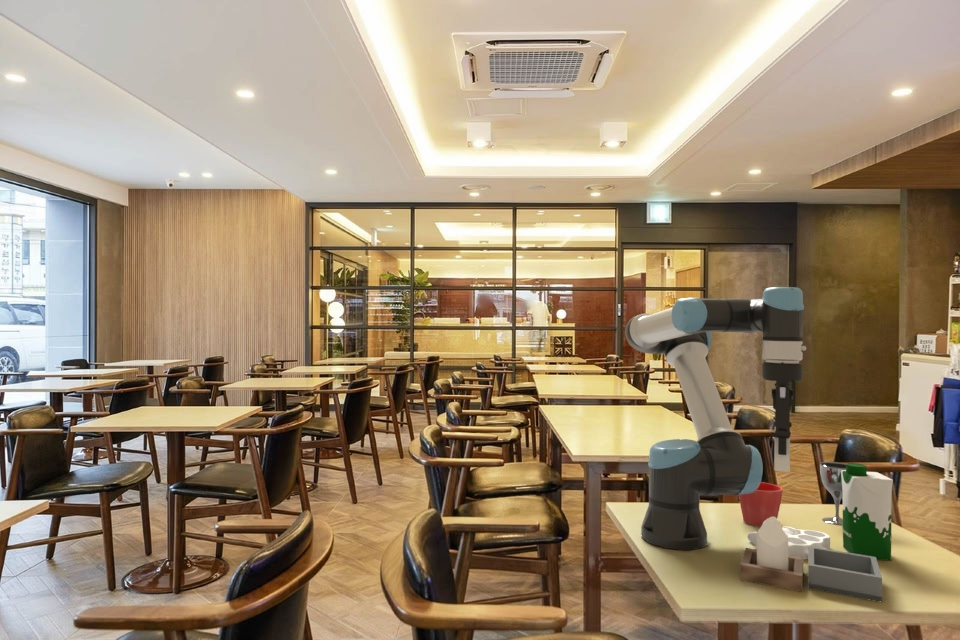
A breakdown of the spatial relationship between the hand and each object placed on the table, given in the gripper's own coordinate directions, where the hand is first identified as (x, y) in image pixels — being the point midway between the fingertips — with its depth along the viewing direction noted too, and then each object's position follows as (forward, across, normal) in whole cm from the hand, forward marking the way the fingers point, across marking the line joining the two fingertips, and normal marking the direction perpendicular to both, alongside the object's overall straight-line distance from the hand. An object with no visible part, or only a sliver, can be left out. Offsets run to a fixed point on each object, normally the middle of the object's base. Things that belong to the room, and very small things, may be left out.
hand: (781, 463), depth 123 cm
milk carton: (+23, +22, -18) cm, 36 cm away
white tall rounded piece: (+23, -2, +2) cm, 23 cm away
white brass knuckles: (+24, +18, -2) cm, 30 cm away
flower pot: (+23, +35, +5) cm, 42 cm away
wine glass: (+23, +46, -14) cm, 54 cm away
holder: (+23, -2, +2) cm, 23 cm away
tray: (+23, 0, -11) cm, 25 cm away
